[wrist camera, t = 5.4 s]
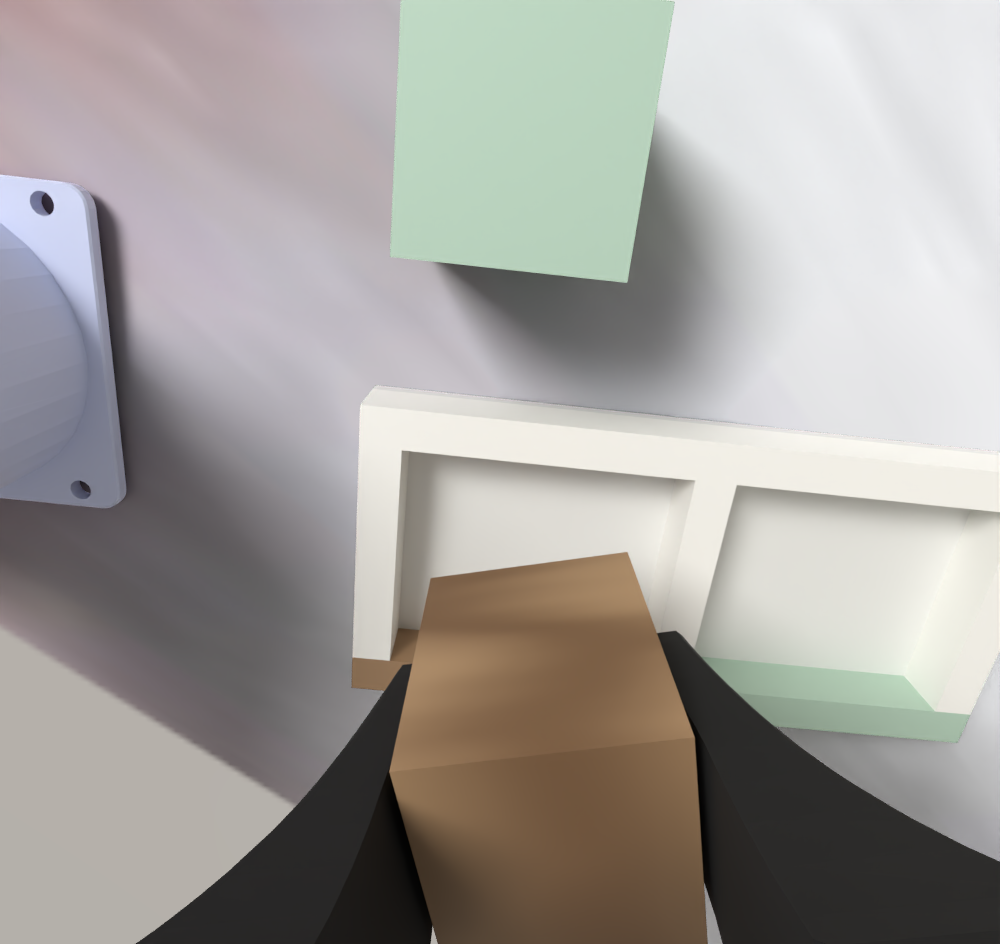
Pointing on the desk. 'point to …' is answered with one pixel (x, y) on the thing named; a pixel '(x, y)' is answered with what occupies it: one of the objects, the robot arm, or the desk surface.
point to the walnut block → (549, 762)
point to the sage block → (525, 132)
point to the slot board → (701, 546)
